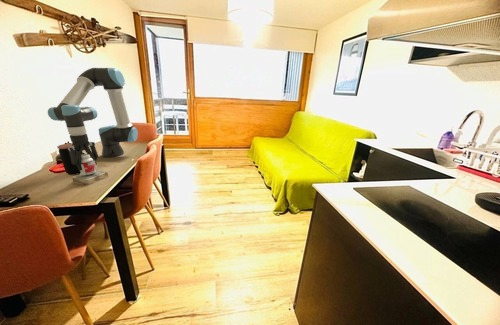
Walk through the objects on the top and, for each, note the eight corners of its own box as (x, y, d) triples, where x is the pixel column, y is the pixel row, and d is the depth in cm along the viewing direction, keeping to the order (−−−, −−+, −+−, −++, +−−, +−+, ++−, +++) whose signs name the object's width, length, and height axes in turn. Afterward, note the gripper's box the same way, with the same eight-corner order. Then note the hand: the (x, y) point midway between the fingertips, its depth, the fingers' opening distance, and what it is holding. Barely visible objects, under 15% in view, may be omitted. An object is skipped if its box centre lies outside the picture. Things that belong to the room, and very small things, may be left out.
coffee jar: (78, 175, 125) (69, 147, 119) (61, 175, 125) (51, 147, 119) (91, 168, 135) (83, 143, 129) (75, 168, 135) (67, 142, 129)
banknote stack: (93, 174, 127) (92, 169, 126) (108, 176, 124) (107, 171, 123) (73, 182, 116) (71, 176, 115) (89, 184, 113) (87, 179, 112)
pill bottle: (80, 174, 117) (75, 156, 113) (91, 170, 122) (86, 153, 118) (87, 175, 115) (82, 157, 111) (98, 171, 120) (93, 154, 116)
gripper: (90, 130, 120) (99, 166, 128) (53, 137, 103) (67, 178, 111) (99, 131, 118) (109, 167, 126) (64, 138, 101) (77, 179, 109)
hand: (89, 172), depth 118 cm, fingers closed on pill bottle, 6 cm apart
